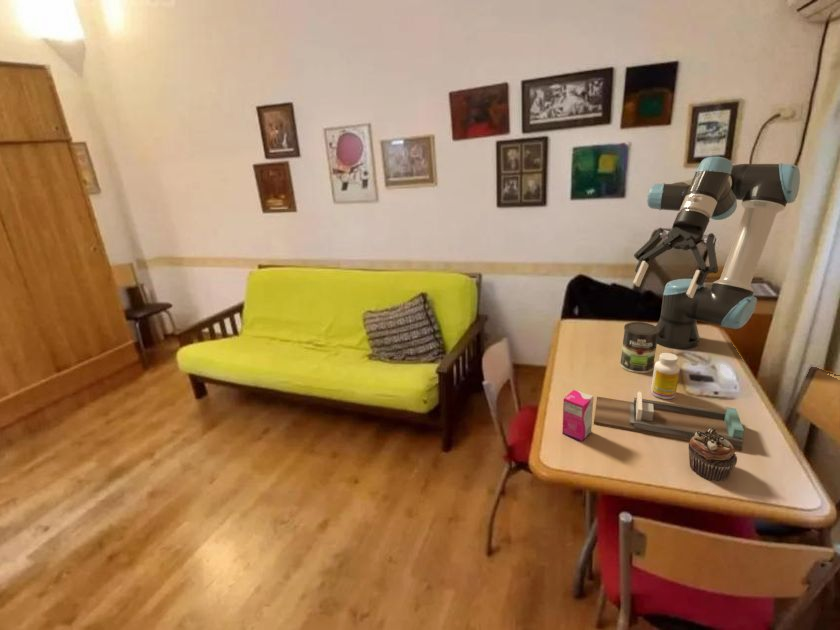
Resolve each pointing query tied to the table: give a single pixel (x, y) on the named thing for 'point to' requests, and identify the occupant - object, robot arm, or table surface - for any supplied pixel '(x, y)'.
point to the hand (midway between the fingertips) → (661, 290)
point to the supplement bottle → (665, 376)
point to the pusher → (643, 409)
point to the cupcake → (711, 455)
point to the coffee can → (639, 347)
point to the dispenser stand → (670, 420)
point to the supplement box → (577, 415)
